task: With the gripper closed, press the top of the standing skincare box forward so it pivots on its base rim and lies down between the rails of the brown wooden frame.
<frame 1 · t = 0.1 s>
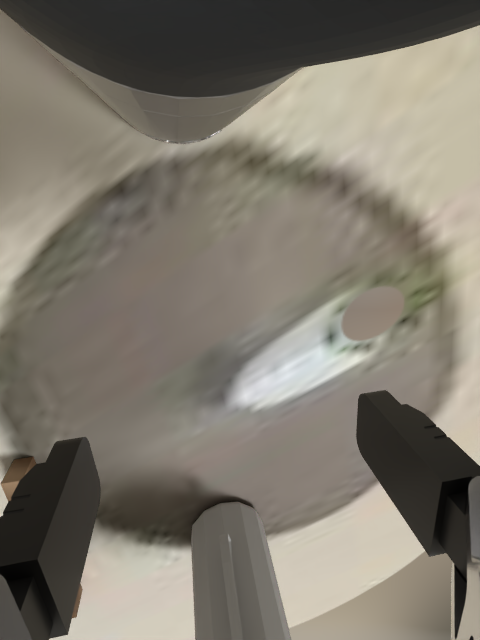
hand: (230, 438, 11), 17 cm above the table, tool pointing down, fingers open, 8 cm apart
water bottle: (224, 514, 37), on the table
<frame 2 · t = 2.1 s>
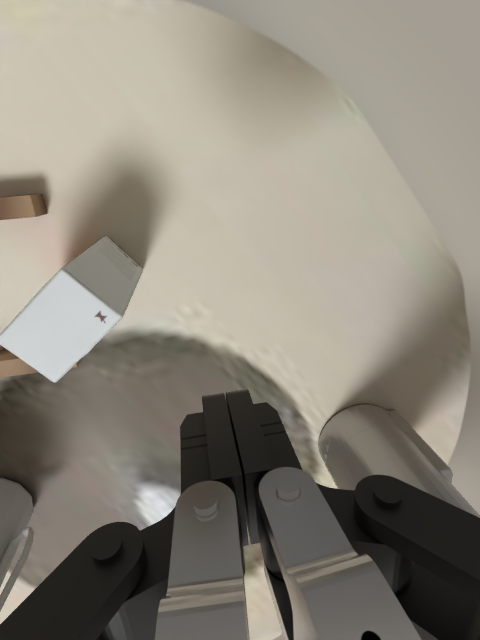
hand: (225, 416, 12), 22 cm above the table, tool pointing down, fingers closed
water bottle: (9, 496, 38), on the table
skincare box: (101, 275, 32), on the table
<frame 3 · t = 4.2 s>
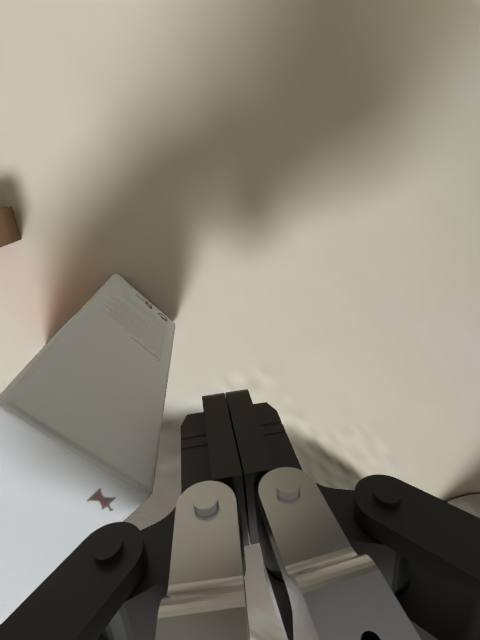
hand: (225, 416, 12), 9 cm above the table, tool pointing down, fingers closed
skincare box: (110, 334, 20), on the table, touching gripper
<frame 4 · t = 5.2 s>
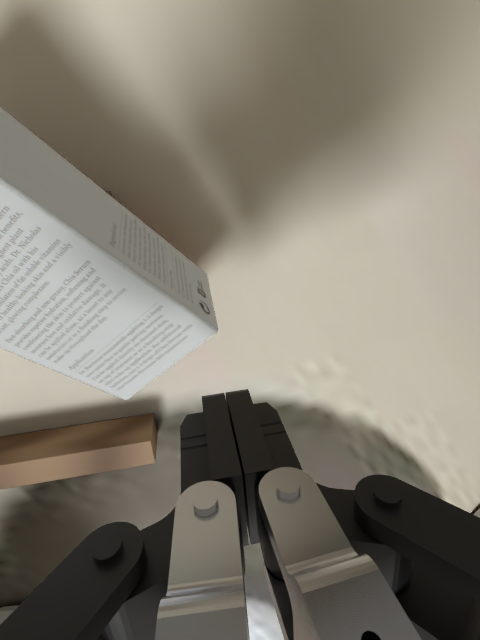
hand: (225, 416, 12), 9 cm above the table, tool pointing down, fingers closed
water bottle: (37, 624, 27), on the table
skincare box: (171, 338, 18), point 3 cm above the table, touching brown wooden frame
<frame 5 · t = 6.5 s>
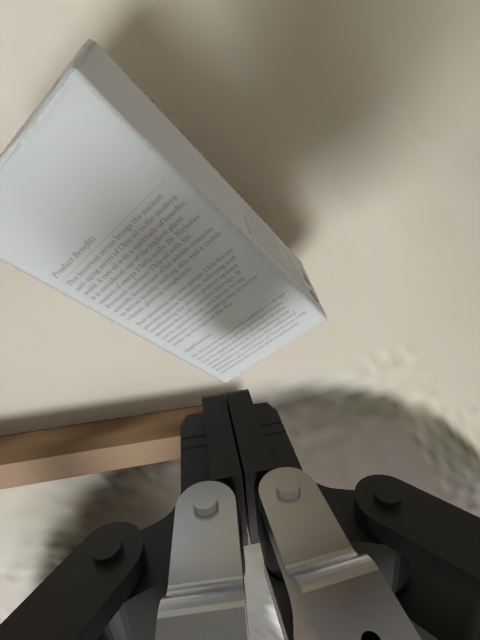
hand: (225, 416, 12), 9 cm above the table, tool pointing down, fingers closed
skincare box: (266, 324, 18), point 2 cm above the table, touching brown wooden frame
brown wooden frame: (58, 337, 19), on the table
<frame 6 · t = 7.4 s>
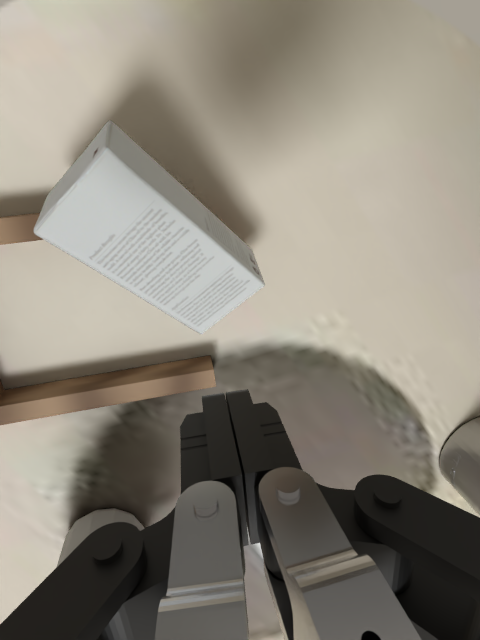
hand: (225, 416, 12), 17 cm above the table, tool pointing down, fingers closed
water bottle: (118, 527, 35), on the table
skincare box: (228, 294, 26), point 2 cm above the table, touching brown wooden frame
brown wooden frame: (83, 308, 27), on the table
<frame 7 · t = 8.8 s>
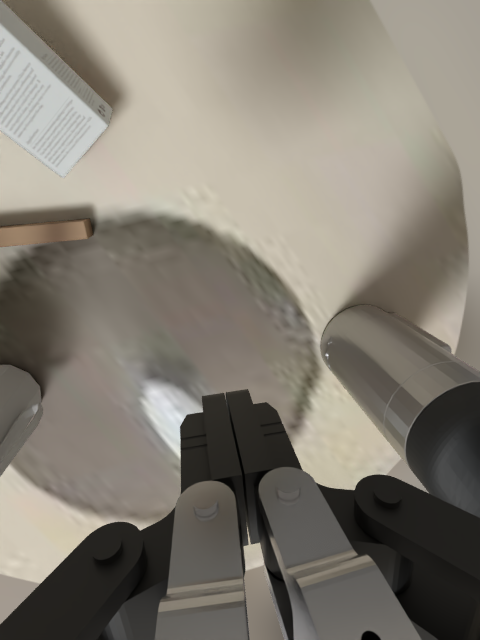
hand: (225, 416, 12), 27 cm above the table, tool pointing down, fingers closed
water bottle: (17, 387, 39), on the table
skincare box: (90, 146, 30), point 2 cm above the table, touching brown wooden frame
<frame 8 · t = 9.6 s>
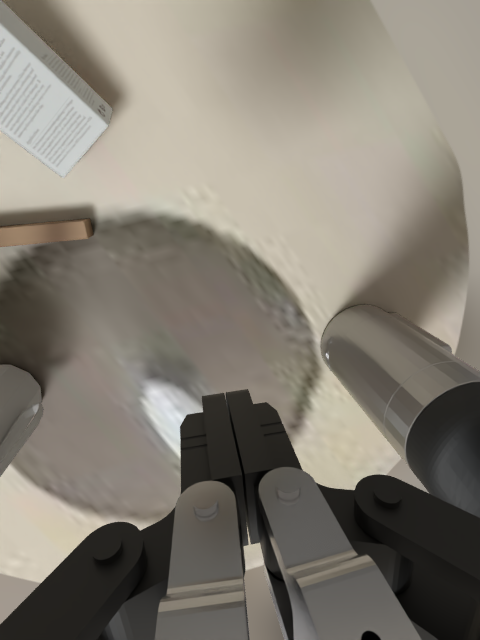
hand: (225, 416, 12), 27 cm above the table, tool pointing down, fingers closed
water bottle: (18, 387, 39), on the table
skincare box: (91, 146, 30), point 2 cm above the table, touching brown wooden frame
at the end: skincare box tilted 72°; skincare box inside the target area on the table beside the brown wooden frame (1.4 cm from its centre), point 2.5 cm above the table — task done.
